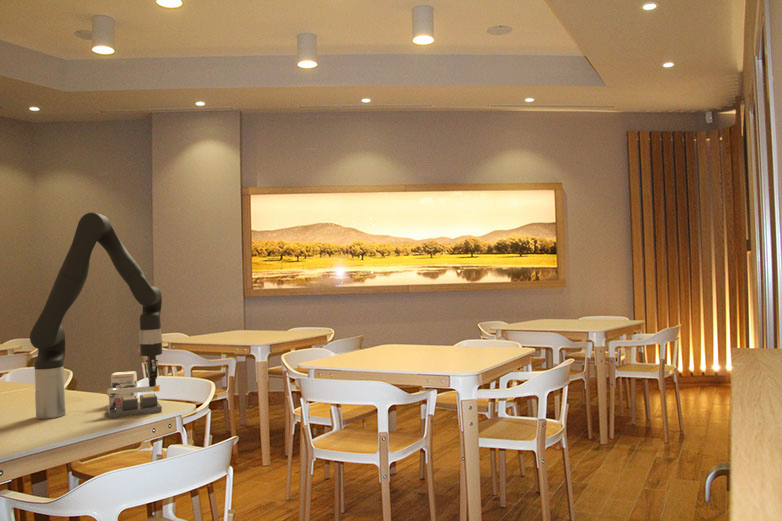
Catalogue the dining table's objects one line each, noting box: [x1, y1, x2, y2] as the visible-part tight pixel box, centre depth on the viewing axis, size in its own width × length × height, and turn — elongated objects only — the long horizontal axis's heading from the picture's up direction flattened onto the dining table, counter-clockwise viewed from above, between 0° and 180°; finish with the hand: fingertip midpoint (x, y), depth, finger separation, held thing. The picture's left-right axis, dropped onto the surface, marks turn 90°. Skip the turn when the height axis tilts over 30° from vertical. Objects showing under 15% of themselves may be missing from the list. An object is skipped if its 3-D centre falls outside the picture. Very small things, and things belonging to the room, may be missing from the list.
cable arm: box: [106, 384, 161, 397], centre depth 237 cm, size 18×3×2 cm, turn 102°
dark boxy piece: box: [106, 393, 163, 420], centre depth 238 cm, size 17×14×7 cm
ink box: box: [110, 370, 139, 405], centre depth 256 cm, size 8×5×12 cm, turn 98°
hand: (152, 389), depth 241 cm, fingers closed
